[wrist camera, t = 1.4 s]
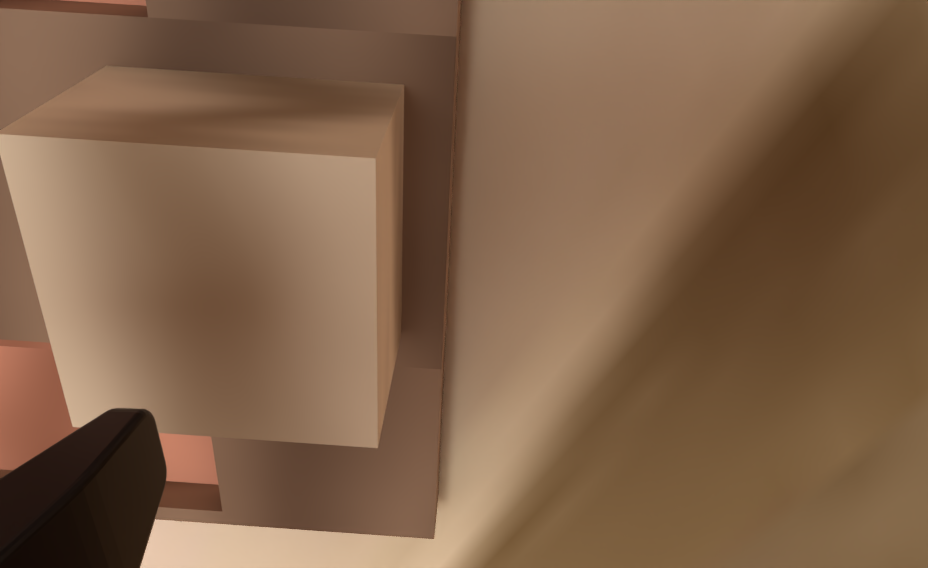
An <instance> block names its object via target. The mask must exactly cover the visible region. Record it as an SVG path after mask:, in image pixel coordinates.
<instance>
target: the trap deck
mask: <svg viewBox="0 0 928 568" xmlns="http://www.w3.org/2000/svg"><path fill="white" fill-rule="evenodd" d="M460 14H461V0H0V130H2V129H3V128H5V127H7V126H8V125H10V124H11V123H13V122H15V121H16V120H18V119H20V118H21V117H23V116H25V115H26V114H28V113H30V112H31V111H33V110H35V109H36V108H38V107H39V106H41V105H43V104H44V103H46V102H48V101H49V100H51V99H53V98H54V97H56V96H58V95H59V94H61V93H63V92H64V91H66V90H67V89H69V88H71V87H72V86H74V85H76V84H77V83H79V82H81V81H82V80H84V79H86V78H87V77H89V76H91V75H92V74H94V73H95V72H97V71H99V70H100V69H102V68H104V67H105V66H118V67H134V68H149V69H165V70H181V71H197V72H212V73H228V74H244V75H260V76H276V77H291V78H307V79H323V80H339V81H354V82H370V83H386V84H402V85H404V145H403V230H402V315H401V337H400V342H399V347H398V352H397V357H396V361H395V366H394V371H393V376H392V381H391V386H390V391H389V396H388V401H387V406H386V411H385V415H384V420H383V425H382V430H381V435H380V440H379V445H378V448H368V447H354V446H339V445H325V444H311V443H296V442H282V441H267V440H253V439H239V438H224V437H210V436H196V435H181V434H167V433H159V437H160V441H161V445H162V449H163V453H164V457H165V461H166V467H167V477H166V484H165V488H164V491H163V495H162V498H161V501H160V504H159V508H158V511H157V514H156V517H155V519H160V520H174V521H188V522H202V523H217V524H231V525H245V526H259V527H273V528H287V529H301V530H315V531H329V532H343V533H357V534H371V535H385V536H400V537H414V538H428V539H434V533H435V523H436V513H437V503H438V485H439V464H440V443H441V421H442V400H443V378H444V357H445V335H446V314H447V293H448V271H449V250H450V228H451V207H452V186H453V164H454V143H455V121H456V100H457V79H458V57H459V36H460ZM79 428H81V427H73V426H72V422H71V419H70V415H69V411H68V407H67V404H66V400H65V396H64V392H63V389H62V385H61V381H60V377H59V374H58V370H57V366H56V362H55V359H54V355H53V351H52V347H51V344H50V340H49V336H48V332H47V329H46V325H45V321H44V317H43V314H42V310H41V306H40V302H39V299H38V295H37V291H36V288H35V284H34V280H33V276H32V273H31V269H30V265H29V261H28V258H27V254H26V250H25V246H24V243H23V239H22V235H21V231H20V228H19V224H18V220H17V216H16V213H15V209H14V205H13V201H12V198H11V194H10V190H9V186H8V183H7V179H6V175H5V171H4V168H3V164H2V160H1V156H0V478H2V477H3V476H5V475H6V474H8V473H10V472H11V471H13V470H14V469H16V468H17V467H19V466H21V465H22V464H24V463H25V462H27V461H29V460H30V459H32V458H33V457H35V456H36V455H38V454H40V453H41V452H43V451H44V450H46V449H47V448H49V447H51V446H52V445H54V444H55V443H57V442H58V441H60V440H62V439H63V438H65V437H66V436H68V435H69V434H71V433H73V432H74V431H76V430H77V429H79Z"/></svg>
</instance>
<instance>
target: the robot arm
mask: <svg viewBox="0 0 928 568" xmlns="http://www.w3.org/2000/svg"><path fill="white" fill-rule="evenodd" d="M166 477H167V467H166V461H165V457H164V453H163V449H162V445H161V441H160V437H159V433H158V429H157V425H156V421H155V418H154V416H153V415H152V413H151V412H150V411H148V410H146V409H136V408H113V409H110V410H108V411H106V412H104V413H103V414H101V415H99V416H98V417H96V418H95V419H93V420H92V421H90V422H88V423H87V424H85V425H84V426H82V427H81V428H79V429H77V430H76V431H74V432H73V433H71V434H69V435H68V436H66V437H65V438H63V439H62V440H60V441H58V442H57V443H55V444H54V445H52V446H51V447H49V448H47V449H46V450H44V451H43V452H41V453H40V454H38V455H36V456H35V457H33V458H32V459H30V460H29V461H27V462H25V463H24V464H22V465H21V466H19V467H17V468H16V469H14V470H13V471H11V472H10V473H8V474H6V475H5V476H3V477H2V478H0V568H140V566H141V563H142V559H143V556H144V553H145V550H146V546H147V543H148V540H149V537H150V533H151V530H152V527H153V524H154V521H155V517H156V514H157V511H158V508H159V504H160V501H161V498H162V495H163V491H164V488H165V484H166Z"/></svg>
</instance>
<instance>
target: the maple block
mask: <svg viewBox="0 0 928 568" xmlns="http://www.w3.org/2000/svg"><path fill="white" fill-rule="evenodd" d="M403 145H404V85H402V84H386V83H370V82H354V81H339V80H323V79H307V78H291V77H276V76H260V75H244V74H228V73H212V72H197V71H181V70H165V69H149V68H134V67H118V66H105V67H104V68H102V69H100V70H99V71H97V72H95V73H94V74H92V75H91V76H89V77H87V78H86V79H84V80H82V81H81V82H79V83H77V84H76V85H74V86H72V87H71V88H69V89H67V90H66V91H64V92H63V93H61V94H59V95H58V96H56V97H54V98H53V99H51V100H49V101H48V102H46V103H44V104H43V105H41V106H39V107H38V108H36V109H35V110H33V111H31V112H30V113H28V114H26V115H25V116H23V117H21V118H20V119H18V120H16V121H15V122H13V123H11V124H10V125H8V126H7V127H5V128H3V129H2V130H0V156H1V160H2V164H3V168H4V171H5V175H6V179H7V183H8V186H9V190H10V194H11V198H12V201H13V205H14V209H15V213H16V216H17V220H18V224H19V228H20V231H21V235H22V239H23V243H24V246H25V250H26V254H27V258H28V261H29V265H30V269H31V273H32V276H33V280H34V284H35V288H36V291H37V295H38V299H39V302H40V306H41V310H42V314H43V317H44V321H45V325H46V329H47V332H48V336H49V340H50V344H51V347H52V351H53V355H54V359H55V362H56V366H57V370H58V374H59V377H60V381H61V385H62V389H63V392H64V396H65V400H66V404H67V407H68V411H69V415H70V419H71V422H72V426H73V427H82V426H84V425H85V424H87V423H88V422H90V421H92V420H93V419H95V418H96V417H98V416H99V415H101V414H103V413H104V412H106V411H108V410H110V409H113V408H136V409H146V410H148V411H150V412H151V413H152V415H153V416H154V418H155V421H156V425H157V429H158V433H167V434H181V435H196V436H210V437H224V438H239V439H253V440H267V441H282V442H296V443H311V444H325V445H339V446H354V447H368V448H378V445H379V440H380V435H381V430H382V425H383V420H384V415H385V411H386V406H387V401H388V396H389V391H390V386H391V381H392V376H393V371H394V366H395V361H396V357H397V352H398V347H399V342H400V337H401V315H402V230H403Z"/></svg>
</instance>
